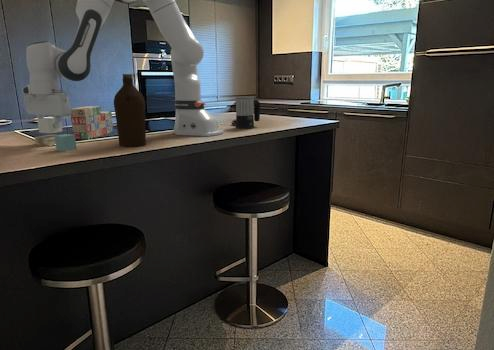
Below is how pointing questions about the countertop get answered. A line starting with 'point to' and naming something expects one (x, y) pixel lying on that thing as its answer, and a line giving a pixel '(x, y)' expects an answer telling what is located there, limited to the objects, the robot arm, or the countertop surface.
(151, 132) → the countertop surface
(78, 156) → the countertop surface
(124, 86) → the olive oil
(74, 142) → the teal block
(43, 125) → the white block
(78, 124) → the stack of blocks
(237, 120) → the milk frother
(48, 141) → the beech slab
